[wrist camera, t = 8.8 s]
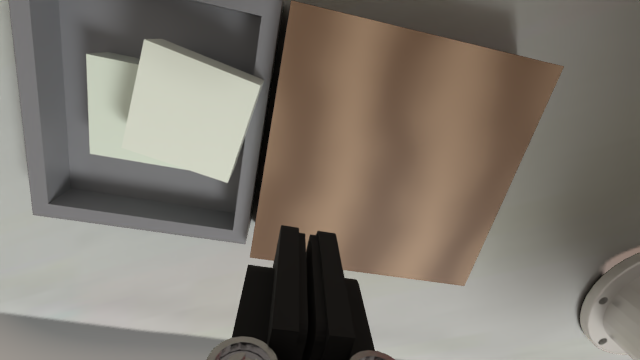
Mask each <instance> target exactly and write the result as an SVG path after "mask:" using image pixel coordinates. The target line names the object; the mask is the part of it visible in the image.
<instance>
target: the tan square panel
mask: <svg viewBox="0 0 640 360" xmlns="http://www.w3.org/2000/svg"><path fill="white" fill-rule="evenodd" d="M563 68H564V66H560V65H556V64H552V63H548V62H543V61H539V60H535V59H531V58H527V57H523V56H519V55H515V54H510V53H506V52H502V51H498V50H494V49H490V48H486V47H482V46H477V45H473V44H469V43H465V42H461V41H457V40H453V39H449V38H445V37H440V36H436V35H432V34H428V33H424V32H420V31H416V30H412V29H407V28H403V27H399V26H395V25H391V24H387V23H383V22H379V21H374V20H370V19H366V18H362V17H358V16H354V15H350V14H346V13H342V12H337V11H333V10H329V9H325V8H321V7H317V6H313V5H309V4H304V3H300V2H296V1H292V0H291V4H290V10H289V17H288V23H287V29H286V35H285V41H284V48H283V54H282V60H281V66H280V73H279V79H278V85H277V91H276V98H275V104H274V110H273V116H272V122H271V129H270V135H269V141H268V147H267V154H266V160H265V166H264V172H263V179H262V185H261V191H260V197H259V203H258V210H257V216H256V222H255V228H254V235H253V241H252V247H251V253H250V258H258V259H265V260H273V261H274V259H275V254H276V248H277V243H278V238H279V233H280V228H281V225H284V226H291V227H297V228H299V233H305V239H306V249H307V245H308V240H309V236H310V234H312V235H316V233H317V231H323V232H330V233H335V234H336V237H337V242H338V247H339V253H340V258H341V263H342V268H343V270H348V271H356V272H363V273H371V274H378V275H386V276H393V277H401V278H408V279H416V280H424V281H431V282H439V283H446V284H454V285H461V286H464V285H465V283H466V281H467V279H468V277H469V274H470V272H471V270H472V268H473V266H474V263H475V261H476V259H477V257H478V255H479V252H480V250H481V248H482V246H483V244H484V241H485V239H486V237H487V235H488V233H489V230H490V228H491V226H492V224H493V222H494V219H495V217H496V215H497V213H498V211H499V208H500V206H501V204H502V202H503V200H504V197H505V195H506V193H507V191H508V189H509V186H510V184H511V182H512V180H513V178H514V175H515V173H516V171H517V169H518V167H519V164H520V162H521V160H522V158H523V156H524V153H525V151H526V149H527V147H528V145H529V142H530V140H531V138H532V136H533V134H534V131H535V129H536V127H537V125H538V123H539V120H540V118H541V116H542V114H543V112H544V109H545V107H546V105H547V103H548V101H549V98H550V96H551V94H552V92H553V90H554V87H555V85H556V83H557V81H558V79H559V76H560V74H561V72H562V70H563Z"/></svg>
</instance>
